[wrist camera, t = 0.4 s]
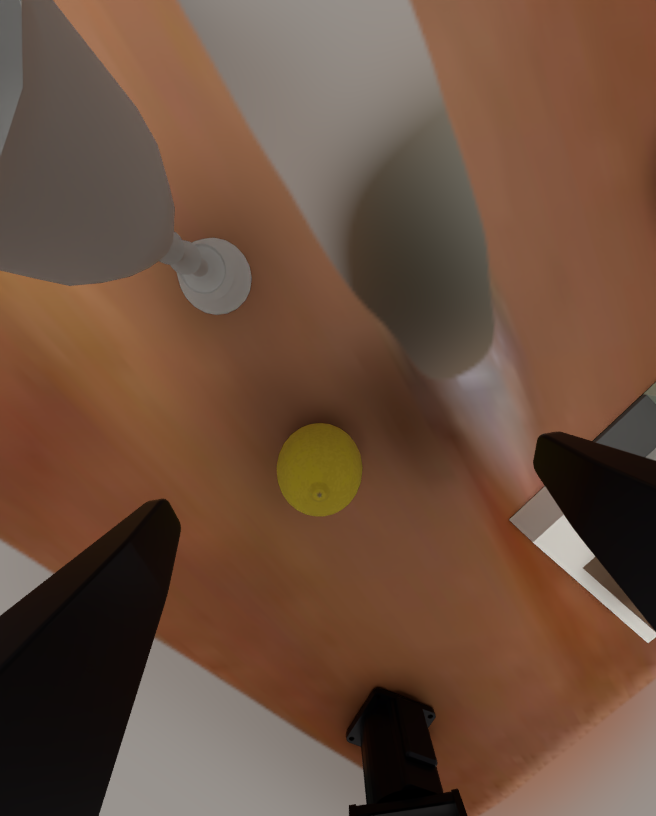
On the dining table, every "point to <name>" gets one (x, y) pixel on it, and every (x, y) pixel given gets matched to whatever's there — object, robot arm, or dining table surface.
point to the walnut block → (611, 586)
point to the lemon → (319, 469)
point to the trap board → (550, 530)
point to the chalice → (88, 172)
